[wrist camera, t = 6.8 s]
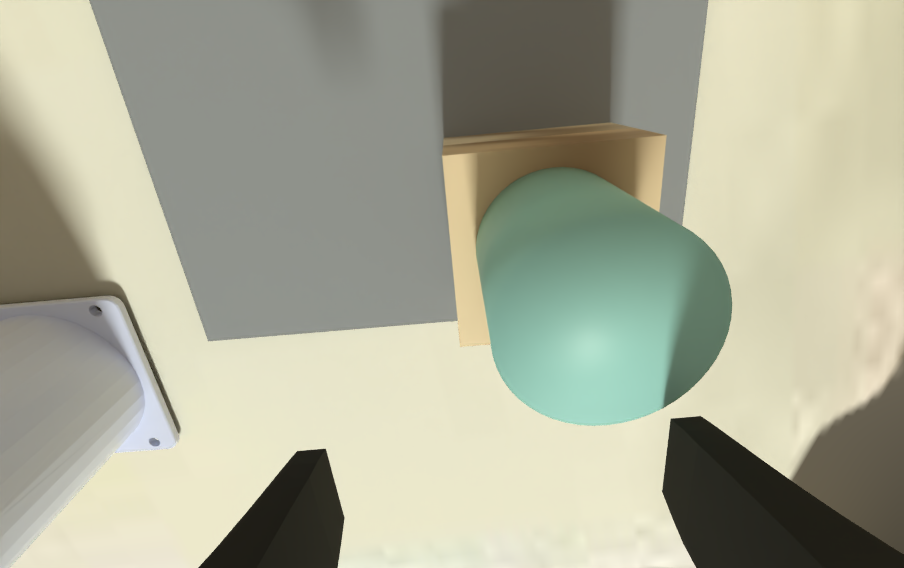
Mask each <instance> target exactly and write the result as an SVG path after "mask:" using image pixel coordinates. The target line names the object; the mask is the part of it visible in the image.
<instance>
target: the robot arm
mask: <svg viewBox="0 0 904 568" xmlns="http://www.w3.org/2000/svg"><path fill="white" fill-rule="evenodd" d="M96 306H98V307H99V308H100V309H101V310H102V312H101V311H99V310H98V309H97V308H96ZM155 438H156V439H155ZM157 439H158V440H157ZM179 439H180V438H179V434H178V432H177V429H176V427H175V425H174V422H173V420H172V417H171V415H170V413H169V410H168V408H167V406H166V403H165V401H164V398H163V396H162V394H161V391H160V389H159V386H158V384H157V382H156V379H155V377H154V374H153V372H152V370H151V367H150V365H149V363H148V360H147V358H146V355H145V353H144V351H143V348H142V346H141V343H140V341H139V339H138V336H137V334H136V332H135V329H134V327H133V324H132V322H131V320H130V317H129V315H128V312H127V310H126V308H125V305H124V304H123V302H122V301H121V300H120V299H119V298H117V297H114V296H97V297H85V298H73V299H62V300H50V301H38V302H27V303H15V304H3V305H0V568H10V567H11V566H12V565H13V564H14V563H15V562H16V560H17V559H18V558H19V557H20V556H21V555H22V554H23V553H24V552H25V551H26V549H27V548H28V547H29V546H30V545H31V544H32V543H33V542H34V541H35V540H36V538H37V537H38V536H39V535H40V534H41V533H42V532H43V531H44V530H45V529H46V527H47V526H48V525H49V524H50V523H51V522H52V521H53V520H54V519H55V517H56V516H57V515H58V514H59V513H60V512H61V511H62V510H63V509H64V508H65V506H66V505H67V504H68V503H69V502H70V501H71V500H72V499H73V498H74V497H75V495H76V494H77V493H78V492H79V491H80V490H81V489H82V488H83V487H84V486H85V484H86V483H87V482H88V481H89V480H90V479H91V478H92V477H93V476H94V475H95V473H96V472H97V471H98V470H99V469H100V468H101V467H102V466H103V465H104V464H105V462H106V461H107V460H108V459H109V458H110V457H111V456H112V455H113V454H114V453H119V452H132V451H145V450H159V449H170V448H173V447H174V446H175V445H176V444H177V443H178V441H179ZM662 492H663V495H664V498H665V500H666V503H667V505H668V508H669V510H670V513H671V515H672V518H673V520H674V523H675V525H676V527H677V530H678V532H679V534H680V537H681V539H682V541H683V544H684V546H685V547H686V549H687V551H688V553H689V555H690V557H691V559H692V561H693V562H694V564H695V566H696V568H904V554H902V553H900V552H899V551H897V550H895V549H894V548H892V547H890V546H889V545H887V544H886V543H884V542H883V541H881V540H880V539H878V538H876V537H875V536H873V535H872V534H870V533H869V532H867V531H865V530H864V529H862V528H861V527H859V526H858V525H856V524H854V523H853V522H851V521H850V520H848V519H847V518H845V517H844V516H842V515H841V514H839V513H838V512H836V511H835V510H833V509H832V508H830V507H829V506H827V505H826V504H824V503H823V502H821V501H820V500H818V499H817V498H815V497H814V496H812V495H811V494H810V493H808V492H806V491H805V490H803V489H802V488H801V487H799V486H798V485H797V484H795V483H794V482H792V481H791V480H789V479H788V478H786V477H785V476H784V475H782V474H781V473H779V472H778V471H777V470H775V469H774V468H772V467H771V466H770V465H768V464H767V463H765V462H764V461H763V460H761V459H760V458H758V457H757V456H756V455H754V454H753V453H752V452H750V451H749V450H747V449H746V448H745V447H743V446H742V445H741V444H739V443H738V442H736V441H735V440H734V439H732V438H731V437H729V436H728V435H727V434H725V433H724V432H723V431H721V430H720V429H718V428H717V427H716V426H714V425H713V424H711V423H710V422H708V421H707V420H706V419H704V418H703V417H701V416H698V417H686V418H675V419H671V422H670V430H669V439H668V447H667V456H666V464H665V473H664V481H663V490H662ZM343 525H344V515H343V511H342V508H341V504H340V500H339V496H338V493H337V489H336V485H335V482H334V478H333V474H332V471H331V467H330V463H329V459H328V456H327V452H326V449H318V450H306V451H297V452H296V453H295V454H294V456H293V457H292V458H291V459H290V460H289V461H288V463H287V464H286V465H285V466H284V467H283V469H282V470H281V471H280V472H279V474H278V475H277V476H276V477H275V478H274V480H273V481H272V482H271V483H270V485H269V486H268V487H267V488H266V489H265V491H264V492H263V493H262V494H261V496H260V497H259V498H258V499H257V500H256V502H255V503H254V504H253V505H252V507H251V508H250V509H249V510H248V511H247V513H246V514H245V515H244V516H243V517H242V518H241V520H240V521H239V522H238V523H237V524H236V525H235V527H234V528H233V529H232V530H231V531H230V532H229V534H228V535H227V536H226V537H225V538H224V540H223V541H222V542H221V543H220V544H219V545H218V547H217V548H216V549H215V550H214V551H213V552H212V553H211V554H210V556H209V557H208V558H207V559H206V560H205V561H204V562H203V563H202V564H201V565H200V566H199V568H337V567H338V560H339V554H340V547H341V540H342V532H343Z"/></svg>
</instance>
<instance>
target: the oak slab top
mask: <svg viewBox="0 0 904 568" xmlns="http://www.w3.org/2000/svg"><path fill="white" fill-rule="evenodd" d="M666 136H667V135H664V134H659V133H655V132H650V131H646V130H642V129H637V128H627V129H616V130H605V131H594V132H584V133H573V134H562V135H551V136H541V137H530V138H519V139H508V140H498V141H487V142H476V143H465V144H455V145H444V146H443V152H442V160H443V170H444V181H445V191H446V202H447V213H448V223H449V234H450V244H451V255H452V265H453V276H454V287H455V297H456V308H457V318H458V329H459V340H460V347H463V346H476V345H488V344H491V342H490V336H489V330H488V324H487V318H486V312H485V306H484V300H483V294H482V288H481V282H480V276H479V270H478V264H477V258H476V240H477V234H478V230H479V226H480V223H481V221H482V218H483V216H484V214H485V212H486V211H487V209H488V207H489V206H490V204H491V203H492V202H493V200H494V199H495V198H496V197H497V196H498V195H499V194H500V192H501V191H502V190H504V189H505V188H506V187H507V186H509V185H510V184H511V183H513V182H514V181H516V180H517V179H519V178H521V177H523V176H525V175H527V174H529V173H532V172H535V171H538V170H541V169H546V168H552V167H571V168H577V169H582V170H586V171H588V172H591V173H594V174H596V175H597V176H599V177H601V178H603V179H605V180H606V181H608V182H610V183H611V184H613V185H615V186H616V187H618V188H620V189H621V190H623V191H625V192H626V193H628V194H630V195H631V196H633V197H635V198H636V199H638V200H640V201H641V202H643V203H645V204H646V205H648V206H650V207H651V208H653V209H655V210H656V211H658V212H659V209H660V199H661V188H662V178H663V167H664V157H665V146H666Z"/></svg>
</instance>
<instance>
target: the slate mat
mask: <svg viewBox="0 0 904 568" xmlns="http://www.w3.org/2000/svg"><path fill="white" fill-rule="evenodd" d="M89 1H90V4H91V7H92V9H93V12H94V15H95V18H96V21H97V24H98V27H99V29H100V32H101V35H102V38H103V41H104V44H105V47H106V50H107V52H108V55H109V58H110V61H111V64H112V67H113V70H114V72H115V75H116V78H117V81H118V84H119V87H120V90H121V92H122V95H123V98H124V101H125V104H126V107H127V110H128V112H129V115H130V118H131V121H132V124H133V127H134V130H135V133H136V135H137V138H138V141H139V144H140V147H141V150H142V153H143V155H144V158H145V161H146V164H147V167H148V170H149V173H150V175H151V178H152V181H153V184H154V187H155V190H156V193H157V196H158V198H159V201H160V204H161V207H162V210H163V213H164V216H165V218H166V221H167V224H168V227H169V230H170V233H171V236H172V238H173V241H174V244H175V247H176V250H177V253H178V256H179V258H180V261H181V264H182V267H183V270H184V273H185V276H186V279H187V281H188V284H189V287H190V290H191V293H192V296H193V299H194V301H195V304H196V307H197V310H198V313H199V316H200V319H201V321H202V324H203V327H204V330H205V333H206V336H207V339H208V341H217V340H229V339H241V338H253V337H265V336H277V335H289V334H301V333H313V332H326V331H338V330H350V329H362V328H374V327H386V326H398V325H410V324H422V323H435V322H447V321H458V318H457V308H456V297H455V287H454V276H453V265H452V255H451V244H450V234H449V223H448V213H447V202H446V191H445V181H444V170H443V160H442V152H443V139H444V138H448V137H459V136H470V135H480V134H491V133H502V132H512V131H523V130H534V129H544V128H555V127H566V126H577V125H587V124H598V123H609V122H611V123H615V124H620V125H624V126H628V127H633V128H637V129H642V130H646V131H650V132H655V133H659V134H664V135H667V136H666V146H665V157H664V167H663V178H662V188H661V199H660V209H659V212H660V213H661V214H663V215H665V216H666V217H668V218H670V219H671V220H673V221H675V222H676V223H678V224H680V225H681V226H682V222H683V213H684V204H685V196H686V187H687V179H688V170H689V162H690V153H691V145H692V136H693V127H694V119H695V110H696V102H697V93H698V85H699V76H700V67H701V59H702V50H703V42H704V33H705V25H706V16H707V7H708V0H89Z"/></svg>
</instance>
